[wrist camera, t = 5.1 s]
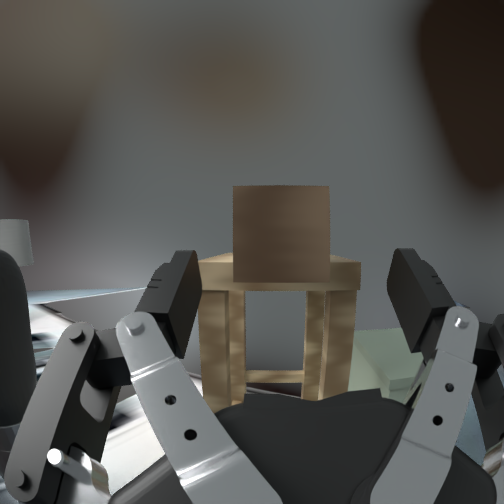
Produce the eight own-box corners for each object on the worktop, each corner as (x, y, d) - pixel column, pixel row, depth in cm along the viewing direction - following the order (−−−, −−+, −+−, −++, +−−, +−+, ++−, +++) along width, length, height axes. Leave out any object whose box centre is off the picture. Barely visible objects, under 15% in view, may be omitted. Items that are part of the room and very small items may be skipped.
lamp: (32, 315, 106) (27, 223, 104) (46, 328, 92) (39, 219, 90) (-14, 321, 84) (-20, 223, 83) (-8, 337, 71) (-17, 218, 69)
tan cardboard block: (233, 282, 11) (233, 186, 11) (262, 252, 39) (262, 225, 38) (329, 282, 10) (329, 186, 10) (289, 252, 38) (289, 225, 38)
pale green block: (348, 523, 22) (390, 380, 21) (332, 457, 36) (350, 331, 35) (423, 505, 21) (480, 362, 20) (394, 448, 36) (420, 326, 35)
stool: (217, 529, 22) (193, 262, 21) (233, 455, 38) (227, 252, 37) (318, 530, 21) (361, 262, 20) (309, 456, 37) (324, 253, 36)
